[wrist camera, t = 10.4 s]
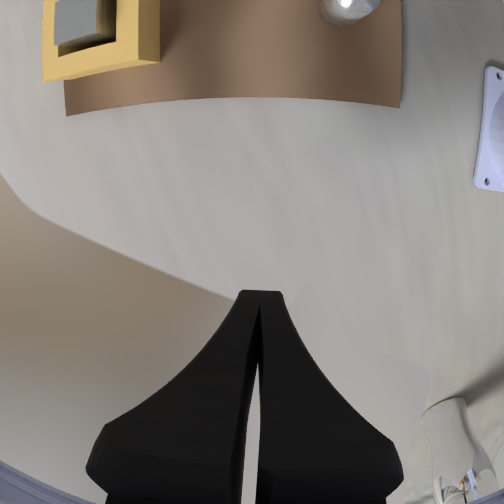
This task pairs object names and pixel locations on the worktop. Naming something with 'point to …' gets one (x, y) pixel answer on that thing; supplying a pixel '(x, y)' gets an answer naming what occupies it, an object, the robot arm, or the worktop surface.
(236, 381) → the robot arm
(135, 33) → the collar
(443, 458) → the beer glass
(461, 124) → the worktop surface
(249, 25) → the stand board
